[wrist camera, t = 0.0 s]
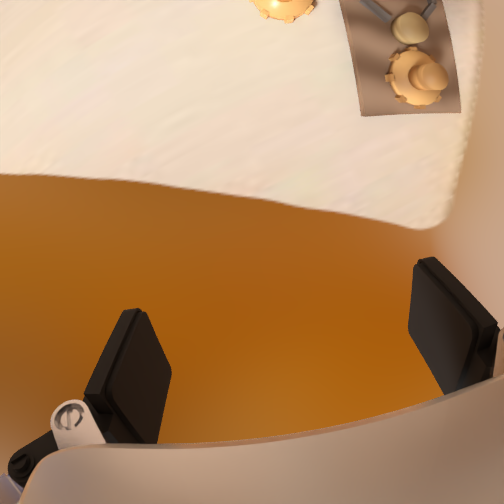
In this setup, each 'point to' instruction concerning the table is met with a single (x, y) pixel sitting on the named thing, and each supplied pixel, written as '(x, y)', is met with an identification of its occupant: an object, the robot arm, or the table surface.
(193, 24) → the table surface
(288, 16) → the gear
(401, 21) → the carrier
